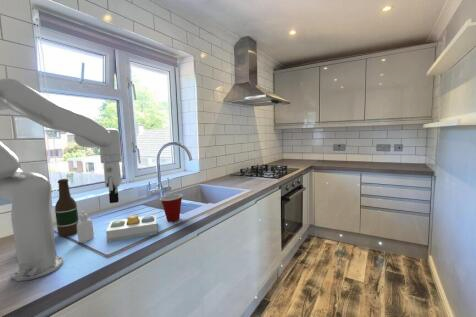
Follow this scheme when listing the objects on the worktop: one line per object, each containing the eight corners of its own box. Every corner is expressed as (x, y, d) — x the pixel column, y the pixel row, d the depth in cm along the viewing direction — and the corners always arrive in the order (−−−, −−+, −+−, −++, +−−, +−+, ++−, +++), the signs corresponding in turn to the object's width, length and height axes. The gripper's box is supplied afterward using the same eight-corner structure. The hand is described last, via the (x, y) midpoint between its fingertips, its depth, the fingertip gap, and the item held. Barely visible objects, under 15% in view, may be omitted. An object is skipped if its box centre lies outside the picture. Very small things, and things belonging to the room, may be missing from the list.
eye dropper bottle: (77, 240, 98) (74, 211, 96) (93, 235, 101) (90, 208, 100) (79, 243, 95) (75, 214, 93) (95, 239, 98) (92, 211, 97)
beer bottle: (71, 236, 101) (65, 181, 99) (53, 237, 101) (46, 181, 99) (83, 229, 109) (78, 177, 106) (67, 229, 109) (60, 178, 106)
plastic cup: (168, 215, 124) (167, 192, 122) (187, 216, 121) (186, 193, 120) (156, 223, 113) (154, 198, 112) (177, 224, 111) (175, 199, 109)
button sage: (123, 231, 100) (122, 223, 100) (111, 232, 99) (111, 224, 99) (124, 227, 105) (123, 219, 104) (113, 228, 103) (112, 221, 103)
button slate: (153, 226, 104) (153, 218, 104) (142, 228, 103) (142, 220, 103) (153, 222, 109) (153, 215, 108) (143, 224, 107) (142, 216, 107)
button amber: (138, 225, 102) (138, 217, 102) (127, 227, 101) (126, 219, 100) (139, 222, 106) (138, 214, 106) (128, 223, 105) (127, 216, 105)
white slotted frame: (157, 233, 102) (156, 223, 101) (107, 242, 95) (106, 231, 95) (156, 223, 113) (156, 214, 112) (111, 230, 106) (110, 220, 106)
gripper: (118, 160, 93) (121, 206, 95) (123, 157, 107) (126, 197, 109) (96, 161, 90) (100, 208, 92) (104, 157, 104) (107, 198, 106)
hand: (114, 202), depth 100 cm, fingers closed
